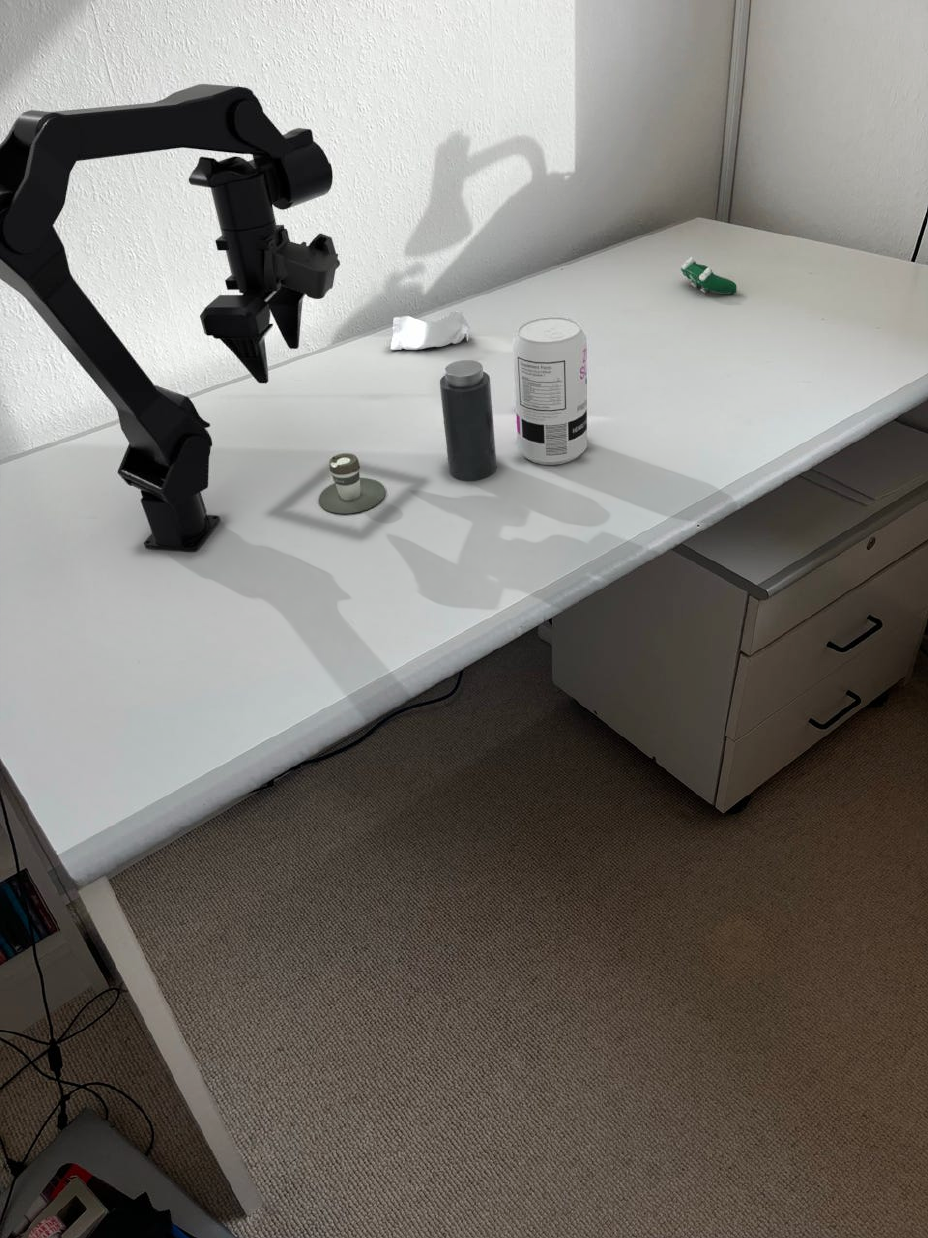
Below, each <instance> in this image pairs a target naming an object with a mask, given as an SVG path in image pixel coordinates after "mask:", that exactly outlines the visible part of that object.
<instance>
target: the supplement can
mask: <svg viewBox="0 0 928 1238" xmlns="http://www.w3.org/2000/svg"><path fill="white" fill-rule="evenodd" d="M587 341H588V340H587V336H586V334H585V333H584V331H583V329H582V326H581V324H580V323H579V322H578V321H576V320H574V319H572V318H569V317H568V318H567V317H562V316H546V317H538V318H534V319H530V320H527V321H526V322H524V323H522V324H521V325H520V326H519V327H518V328H517V333H516V335H515V337H514V339H513V341H512V359H513V360H512V361H513V377H514V378H513V379H514V380H513V381H514V395H515V398H514V399H515V414H516V432H517V447H518V448H517V450H518V452H520V454H521V456H524V457H525V458H526V459H527V460H529V461H530V462H532V463H535V464H538V465H545V466H546V465H548V466H554V465H556V466H557V465H562V464H567V463H569V462H572V461H574V460H576V459H577V458H579V457H580V455H582V454H583V453H584V452H585V451H586V449H587V448H588V367H587V366H588V363H587V359H588V357H587V356H588V355H587V353H588V348H587V347H588V346H587V345H588V344H587V343H588V342H587Z"/></svg>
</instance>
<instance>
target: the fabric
mask: <svg viewBox="0 0 928 1238" xmlns="http://www.w3.org/2000/svg"><path fill="white" fill-rule="evenodd" d="M392 323H393V324H392V331H393V333H392V339H391V345H390V351H401V350H407V351H416V350H425V349H429V348H434V347H436V348H440V347H441V348H442V347H445V346H448V345H450V344H454V345H455V344H456V345H457V344H459V343H461V342H462V341H463V340H464V338H465V337H466V342H467V343H468V342H469V336H470V334H471V331H470V329H471V328H470V326H469V325H468V322H467V321H466V319H465V317H464V315H463V312H462V311H461V310H458V311H451V312H450V313H449V315H447V316H444V317H442V318H441V319H438V320H436V321H430V322H426V321H423V320H420V319H416V318H414V317H411V316H409V315H404V316H394V317H393V322H392Z"/></svg>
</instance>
